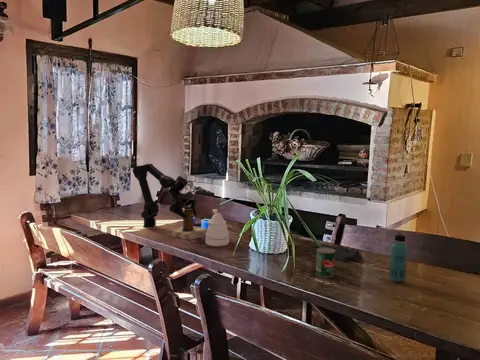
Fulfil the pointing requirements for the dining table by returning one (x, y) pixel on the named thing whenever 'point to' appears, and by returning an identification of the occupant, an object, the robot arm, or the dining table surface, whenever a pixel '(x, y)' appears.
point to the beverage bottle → (398, 259)
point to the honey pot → (217, 231)
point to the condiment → (188, 221)
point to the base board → (188, 233)
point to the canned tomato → (325, 262)
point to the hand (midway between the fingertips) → (190, 216)
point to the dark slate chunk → (343, 254)
